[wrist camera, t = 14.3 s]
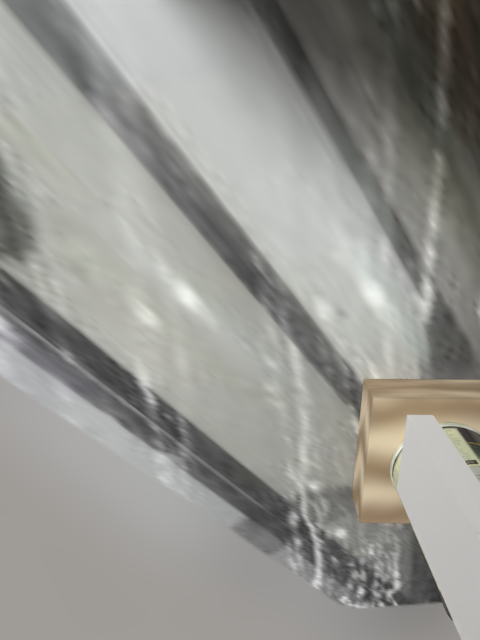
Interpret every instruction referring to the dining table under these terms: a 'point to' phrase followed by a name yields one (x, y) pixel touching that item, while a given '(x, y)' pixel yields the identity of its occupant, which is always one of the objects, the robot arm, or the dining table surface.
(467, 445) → the coffee can
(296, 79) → the dining table surface
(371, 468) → the oak riser
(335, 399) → the dining table surface
